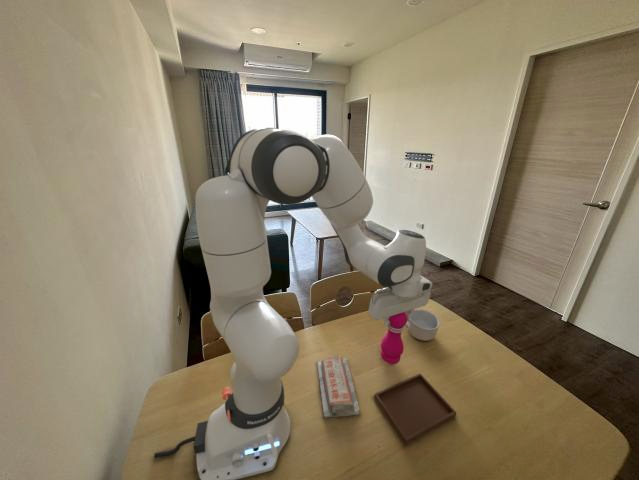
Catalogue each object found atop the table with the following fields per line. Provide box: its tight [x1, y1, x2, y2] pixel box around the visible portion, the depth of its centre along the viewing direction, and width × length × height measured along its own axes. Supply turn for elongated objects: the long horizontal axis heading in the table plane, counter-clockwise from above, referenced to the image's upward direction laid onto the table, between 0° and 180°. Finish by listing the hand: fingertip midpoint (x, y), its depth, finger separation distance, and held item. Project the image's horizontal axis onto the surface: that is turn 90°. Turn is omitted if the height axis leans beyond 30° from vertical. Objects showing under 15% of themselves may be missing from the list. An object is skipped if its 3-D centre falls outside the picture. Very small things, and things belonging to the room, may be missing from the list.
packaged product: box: [317, 355, 361, 419], centre depth 75 cm, size 18×5×10 cm
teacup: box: [404, 308, 441, 342], centre depth 96 cm, size 14×11×8 cm
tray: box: [373, 373, 457, 446], centre depth 70 cm, size 17×13×2 cm
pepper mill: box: [380, 312, 408, 365], centre depth 80 cm, size 7×7×20 cm
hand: (396, 322), depth 78 cm, fingers closed on pepper mill, 6 cm apart
